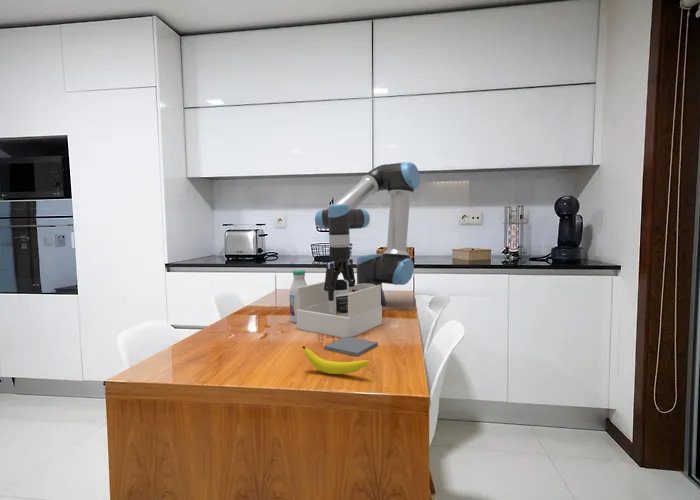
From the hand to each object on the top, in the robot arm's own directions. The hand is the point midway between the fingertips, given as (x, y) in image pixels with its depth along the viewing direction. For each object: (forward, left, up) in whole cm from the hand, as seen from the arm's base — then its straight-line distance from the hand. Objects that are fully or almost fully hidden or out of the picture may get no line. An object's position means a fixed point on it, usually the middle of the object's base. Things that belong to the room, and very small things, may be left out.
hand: (340, 306), depth 149 cm
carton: (0, 0, -7) cm, 7 cm away
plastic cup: (-21, -3, -8) cm, 22 cm away
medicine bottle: (0, 0, -2) cm, 2 cm away
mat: (+18, +17, -7) cm, 26 cm away
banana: (+39, +26, -8) cm, 47 cm away
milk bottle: (+2, -18, -8) cm, 20 cm away
